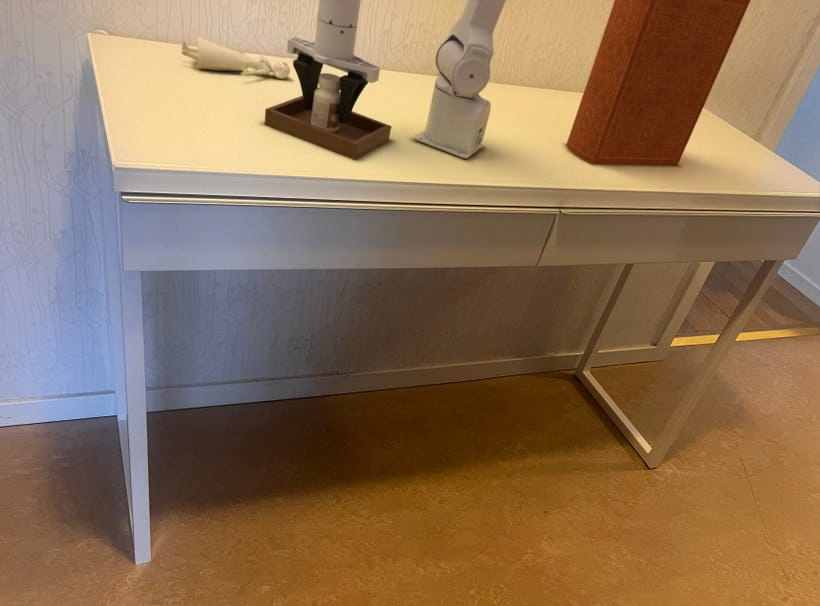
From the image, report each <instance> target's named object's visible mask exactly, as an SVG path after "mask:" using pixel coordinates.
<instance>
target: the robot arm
mask: <svg viewBox="0 0 820 606" xmlns="http://www.w3.org/2000/svg"><path fill="white" fill-rule="evenodd" d="M361 1H362V0H318V6H317V7H318V9H317V19H316V28H315V37H314V41H309V40H306V39H302V38H299V37H296V36H294V37H290V38H287V46H286V53H288V54H291V55H297V57H296V59H293V61H292V66H293V68H294V71H295V72H296V76H297V79H298V81H299V84H300V89H301V94H302V96H303V101H304V109H306V110H310V109H312V108H313V100H314V92H315V90H316V89H317V88H319V83H318V82H319V75H320V74H322V71H323V66H324V65H325V66H328V67H331V68H334V69H337V70H339V71H342V72H345V73H347V74H346V75H345V74H344V75H342V76H339V77H340V92H341V99H340V108H339V115H338V122H340V123H344V122H347V121H349V117H350V114H351V112H352V111H353V109H354V107H355V104H356V103H357V101H358V99H359V97H360V95H361V94H362V92H363V91H364V89H365V88H366V86H367V85H368V84H369V83H370V84H373V83H376V82H378V81H379V77H380V73H381V72H380V71H381V67H379V66H377V65H375V64H372V63H370V62H368V61H366V60H364V59H363V58H361V57H358V56H356V55H355V54H354V53H355V48H356V41H357V40H356V39H357V31H358V23H359V17H360V10H361ZM506 2H507V0H467V1H466V2H465V7H464V9H463V12H462V15H461V17H460V18H459V20H457V22H455V23H454V24H452V26H451V27H450V30H449V32H448V35H447V36H446V37H445V39H444V40H443V41H442V42H441V43H440V44H439V45H438V47H437V49H436V51H435V55H434V63H435V67H436V69H437V71H438V76H437V77H436V79H435V81H434V86H433V90H432V96H431V101H430V106H429V111H428V115H427V119H426V124H425V130H424V131H422V132H420V133H419V134H417V135H416V136H414V140H415V141H417V142H420V143H422V144H425V145H427V146H431V147H433V148H436V149H438V150H441V151H444V152H446V153H449V154H451V155H454V156H457V157H460V158H462V159H469V158H470V157H471V156H472V155H474V154H475V153H476V152H478V151H479V150H480V149H481V148H483V141H484V137H485V134H486V129H487V126H488V121H489V118H490V114H491V106H492V105H491V101H489V100H488V99H485V98H484V97H482V96H481V95H480V93H481V92H482V91H483V90H484V89H485V88H486V87H487V85H488V83H489V81H490V77H491V62H492V58H493V56H494V53H495V52H494V39H493V37H494V36H493V34H494V32H495V29H496V26H497V24H498V21H499V18H500V15H501V13H502V11H503V8H504V6H505V4H506Z"/></svg>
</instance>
